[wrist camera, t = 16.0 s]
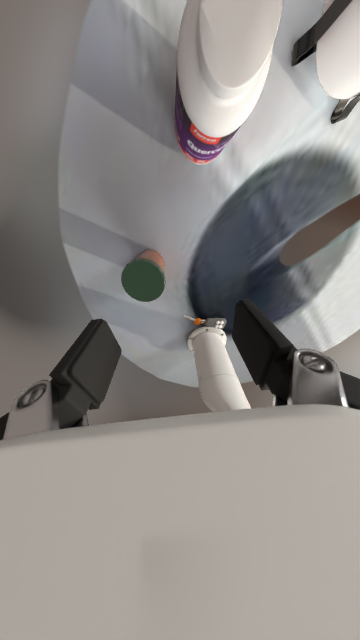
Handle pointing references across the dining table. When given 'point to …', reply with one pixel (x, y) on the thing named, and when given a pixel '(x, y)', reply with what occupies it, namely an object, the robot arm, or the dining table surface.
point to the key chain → (210, 322)
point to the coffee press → (335, 53)
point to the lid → (143, 279)
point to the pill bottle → (221, 70)
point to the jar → (153, 257)
